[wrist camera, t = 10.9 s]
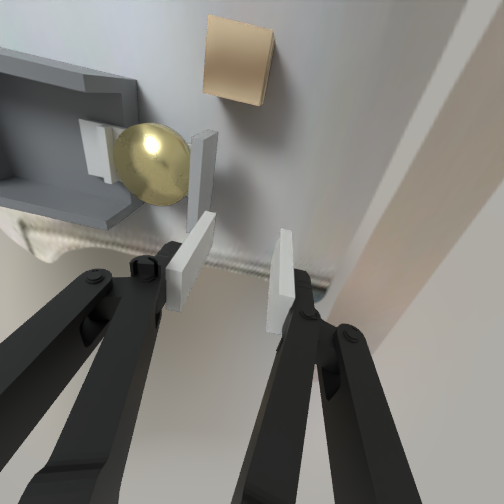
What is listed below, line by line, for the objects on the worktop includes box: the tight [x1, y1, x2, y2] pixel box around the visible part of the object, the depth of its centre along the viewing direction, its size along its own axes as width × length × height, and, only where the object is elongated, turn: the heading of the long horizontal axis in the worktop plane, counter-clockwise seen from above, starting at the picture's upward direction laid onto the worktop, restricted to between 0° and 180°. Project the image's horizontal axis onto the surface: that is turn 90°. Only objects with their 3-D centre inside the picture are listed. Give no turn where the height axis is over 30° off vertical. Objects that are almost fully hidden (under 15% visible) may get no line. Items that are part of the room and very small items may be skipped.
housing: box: [0, 47, 144, 231], centre depth 26 cm, size 14×16×8 cm
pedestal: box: [203, 14, 275, 106], centre depth 22 cm, size 5×5×5 cm
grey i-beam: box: [79, 118, 218, 233], centre depth 24 cm, size 9×14×5 cm, turn 79°
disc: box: [113, 123, 191, 206], centre depth 25 cm, size 8×8×2 cm
